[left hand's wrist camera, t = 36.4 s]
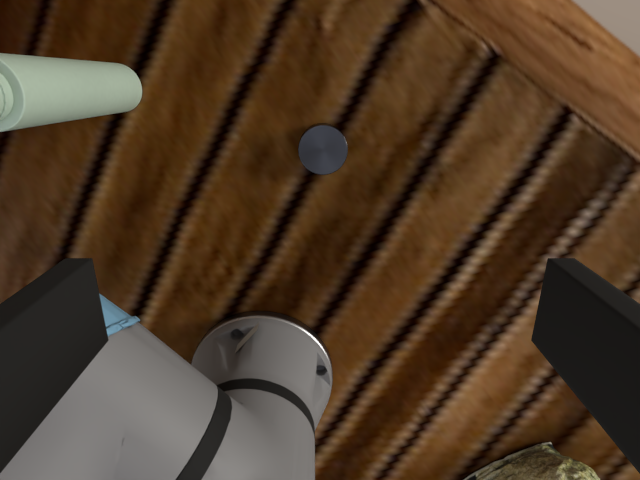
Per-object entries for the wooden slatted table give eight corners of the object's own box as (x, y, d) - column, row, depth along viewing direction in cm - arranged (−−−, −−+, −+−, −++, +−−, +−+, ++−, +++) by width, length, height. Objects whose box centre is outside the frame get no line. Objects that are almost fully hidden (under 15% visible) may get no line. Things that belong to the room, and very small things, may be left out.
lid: (350, 166, 40) (351, 169, 38) (304, 175, 40) (304, 178, 38) (341, 118, 38) (342, 120, 37) (294, 128, 38) (293, 130, 37)
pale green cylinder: (91, 100, 38) (-83, 116, 21) (101, 55, 36) (-76, 34, 20) (136, 119, 38) (-1, 147, 22) (147, 74, 37) (11, 70, 21)
